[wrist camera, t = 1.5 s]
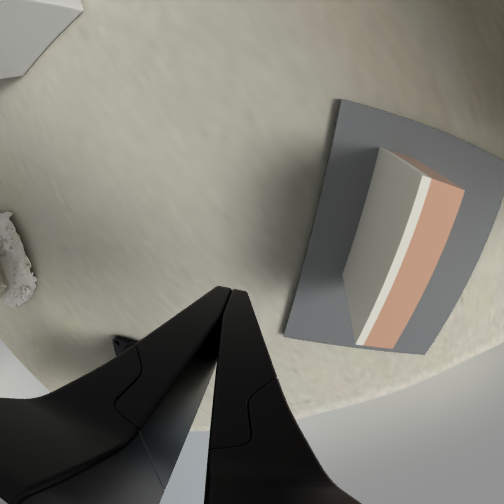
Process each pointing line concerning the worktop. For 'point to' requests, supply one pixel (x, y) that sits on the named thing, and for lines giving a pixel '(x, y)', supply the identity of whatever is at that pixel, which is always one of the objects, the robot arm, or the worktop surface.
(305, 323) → the mat
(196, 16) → the worktop surface
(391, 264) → the tile
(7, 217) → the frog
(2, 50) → the milk carton
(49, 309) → the worktop surface
